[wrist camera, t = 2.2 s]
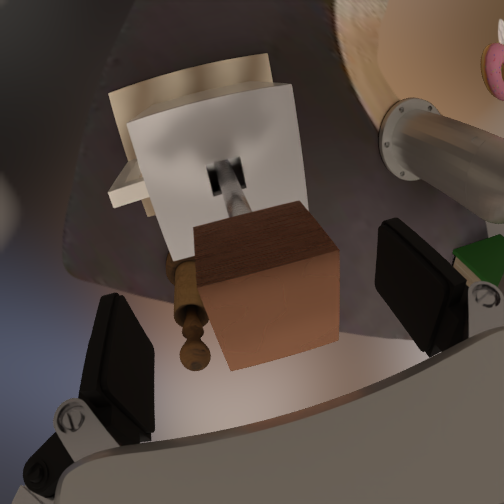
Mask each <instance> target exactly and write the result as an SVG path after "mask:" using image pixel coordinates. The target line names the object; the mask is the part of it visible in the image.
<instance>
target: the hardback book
mask: <svg viewBox="0 0 504 504" xmlns="http://www.w3.org/2000/svg"><path fill="white" fill-rule="evenodd" d="M453 254H454V255H455V256H456V258H455V262H454V265H453V267H454V268H455V269H456V270H457V271H458V272H459V273H460V274H461V275H462V276H463V277H464V278H465V279H466V280H467V282H466V284H467V286H468V287H470V285H471V284H473V283H474V282H478V281H486V282H489V283H492V284H493V285H495V286H496V287H498V285H499V283H500V280H501V278H502V276H503V273H504V237H503V236H502V235H501V234H499V235H496V236H493V237H490V238H487V239H484V240H481V241H478V242H475V243H472V244H469V245H466V246H463V247H460V248H457V249H454V250H453Z"/></svg>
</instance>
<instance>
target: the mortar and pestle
mask: <svg viewBox="0 0 504 504" xmlns="http://www.w3.org/2000/svg"><path fill="white" fill-rule="evenodd" d="M166 274H167V277H168V279H169V280H170V282H171V283H172V284H173V285H175V296H174V319H175V321H176V323H178V325H180V326H181V327H183V329H182V334H183V336H184V337H185V338H187V341H186V342H185V344H184V345H183V346H182V348H181V351H180V360H181V362H182V364H183V365H184V367H186V368H187V369H189V370H191V371H199V370H202V369H204V368H205V367H206V366H207V365H208V364H209V362H210V356H211V355H210V351H209V348H208V347H207V346H206V345H205V344H204V343H203V342H202V341H201V339H200V338H201V337H202V336H203V334H204V330H203V326H204V325H206V324H207V323H208V320H209V317H208V315H207V312H206V310H205V307H204V305H203V302H202V300H201V297H200V294H199V292H198V289H197V282H196V267H195V256H192V257H188V258H184V259H180V260H177V261H173V259H172V257H171V254H170V252H169V254H168V256H167V260H166Z"/></svg>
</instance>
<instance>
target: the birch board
mask: <svg viewBox="0 0 504 504" xmlns="http://www.w3.org/2000/svg"><path fill="white" fill-rule="evenodd" d="M248 81H258V82H273V80H272V75H271V69H270V64H269V59H268V53H265V54H258V55H251V56H245V57H239V58H234V59H228V60H223V61H218V62H213V63H209V64H204V65H200V66H196V67H192V68H188V69H184V70H180V71H176V72H172V73H169V74H165V75H162V76H158V77H155V78H152V79H149V80H145V81H142V82H139V83H136V84H133V85H130V86H127V87H125V88H122V89H119V90H116V91H114V92H111V93H108V94H109V98H110V102H111V105H112V109H113V113H114V116H115V120H116V123H117V126H118V130H119V133H120V136H121V140H122V143H123V146H124V149H125V152H126V156H127V159H128V161H130V160H133V159H136V158H137V157H136V154H135V151H134V148H133V144H132V141H131V138H130V134H129V131H128V128H127V124H126V123H127V122H129V121H130V120H132V119H133V118H134V117H136V116H137V115H139V114H140V113H141V112H143V111H144V110H146V109H147V108H149V107H150V106H152V105H154V104H157V103H160V102H164V101H167V100H171V99H174V98H178V97H181V96H185V95H189V94H193V93H197V92H201V91H205V90H209V89H214V88H218V87H223V86H228V85H233V84H238V83H243V82H248ZM141 177H143V176H142V173H141V175H140V177H139V178H141ZM141 200H142V203H143V205H144V208H145V211H146V214H147V216H148V217H150V216H153V215H156V214H155V211H154V208H153V205H152V202H151V200H150V197H148V198H145V199H141Z"/></svg>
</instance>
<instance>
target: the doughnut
mask: <svg viewBox="0 0 504 504" xmlns="http://www.w3.org/2000/svg"><path fill="white" fill-rule="evenodd" d="M501 70H502V74H501ZM481 73H482V77H483V80H484V83H485V85H486V87H487V89H488V90H489V92H490V93H491V94H492V95H493V96H494V97H496V98H498V99H499V100H502V101H504V45H502V44H500V43H491V44H489V45H488V46H487V47H486V48H485V49H484V51H483V53H482V57H481Z"/></svg>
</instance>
